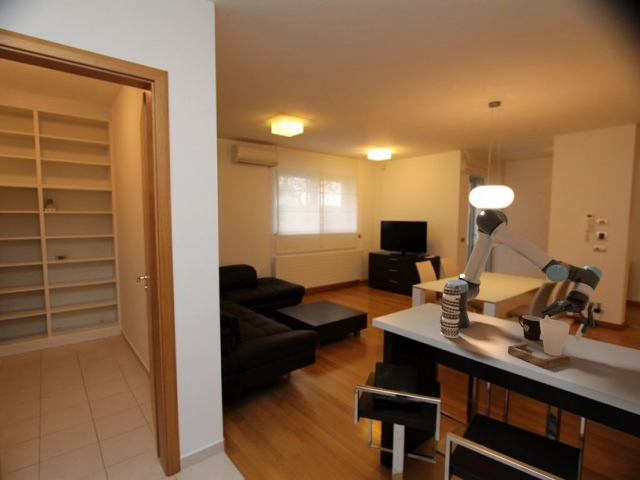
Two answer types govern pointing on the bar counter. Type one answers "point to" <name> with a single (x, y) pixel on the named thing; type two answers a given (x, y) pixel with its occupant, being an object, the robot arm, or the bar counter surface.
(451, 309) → the decorative candle
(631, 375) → the bar counter surface
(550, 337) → the cup
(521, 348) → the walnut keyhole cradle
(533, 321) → the coffee mug
